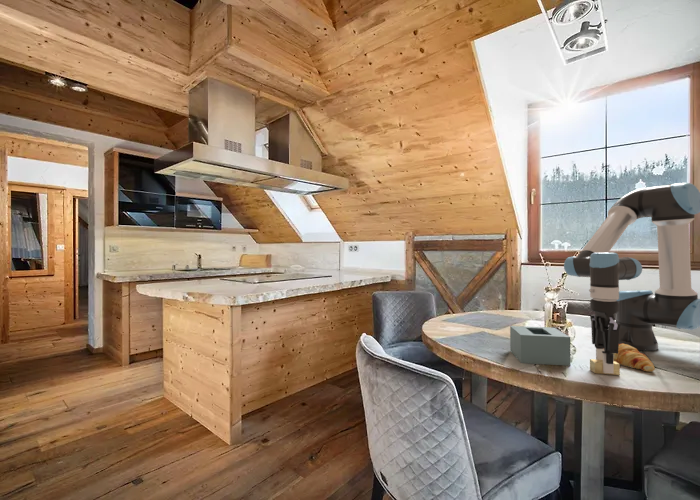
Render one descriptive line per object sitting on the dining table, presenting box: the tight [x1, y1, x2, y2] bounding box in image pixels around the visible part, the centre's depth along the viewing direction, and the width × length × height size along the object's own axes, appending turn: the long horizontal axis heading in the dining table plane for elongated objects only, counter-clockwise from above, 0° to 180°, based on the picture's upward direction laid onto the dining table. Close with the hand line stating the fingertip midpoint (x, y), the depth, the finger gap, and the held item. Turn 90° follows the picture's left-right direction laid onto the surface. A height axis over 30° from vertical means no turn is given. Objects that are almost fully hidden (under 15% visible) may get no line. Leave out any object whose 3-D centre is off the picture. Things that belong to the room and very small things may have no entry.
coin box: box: [509, 325, 571, 366], centre depth 125 cm, size 16×14×10 cm
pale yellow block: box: [589, 358, 621, 376], centre depth 110 cm, size 7×4×4 cm, turn 77°
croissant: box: [603, 343, 656, 372], centre depth 119 cm, size 21×10×8 cm, turn 3°
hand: (604, 370), depth 110 cm, fingers closed on pale yellow block, 3 cm apart
